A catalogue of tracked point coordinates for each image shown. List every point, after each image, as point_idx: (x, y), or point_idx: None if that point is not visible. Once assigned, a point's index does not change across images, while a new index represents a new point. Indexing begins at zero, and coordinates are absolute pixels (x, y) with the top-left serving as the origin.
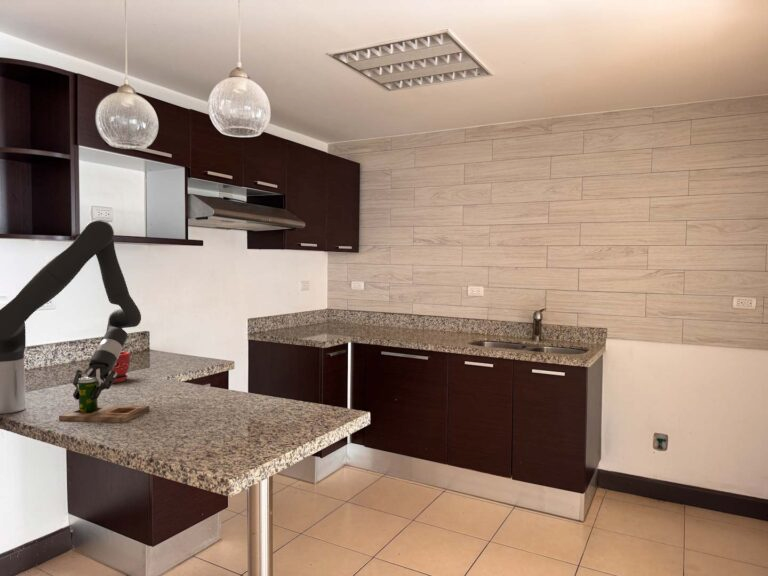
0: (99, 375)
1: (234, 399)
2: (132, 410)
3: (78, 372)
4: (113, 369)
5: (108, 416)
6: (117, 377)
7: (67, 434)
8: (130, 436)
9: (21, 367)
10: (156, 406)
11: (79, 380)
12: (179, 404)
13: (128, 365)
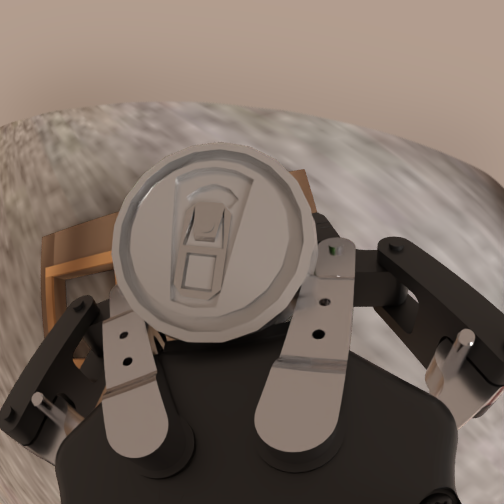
0: (108, 353)
1: (6, 486)
2: (52, 317)
3: (490, 331)
4: None
5: (90, 229)
6: None
7: (143, 102)
8: (16, 165)
9: None
10: None
11: (250, 157)
12: (51, 468)
13: None
